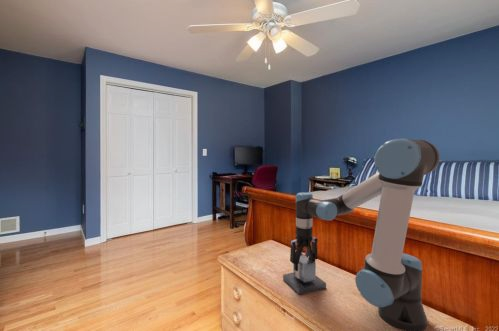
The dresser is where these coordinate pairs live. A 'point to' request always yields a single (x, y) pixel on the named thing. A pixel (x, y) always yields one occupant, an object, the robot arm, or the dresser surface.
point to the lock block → (306, 269)
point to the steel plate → (303, 284)
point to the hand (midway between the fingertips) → (303, 275)
